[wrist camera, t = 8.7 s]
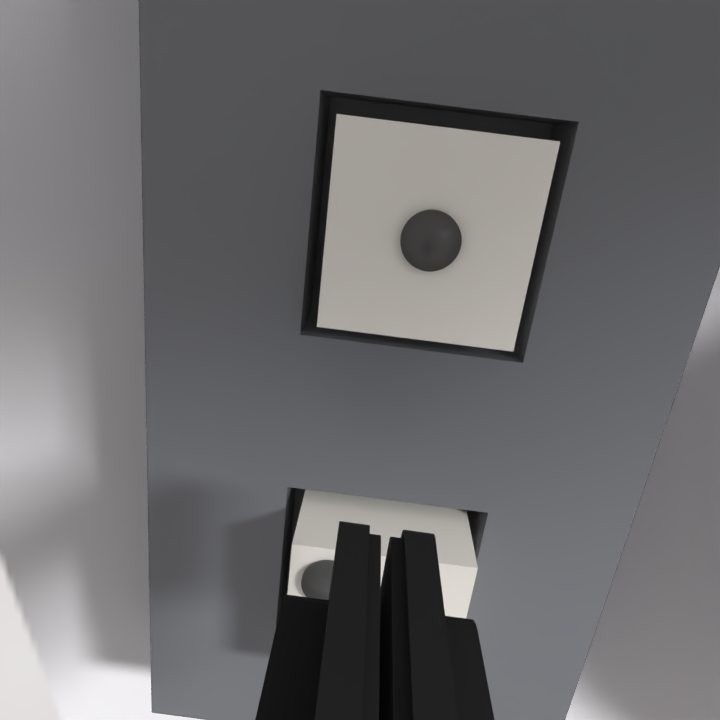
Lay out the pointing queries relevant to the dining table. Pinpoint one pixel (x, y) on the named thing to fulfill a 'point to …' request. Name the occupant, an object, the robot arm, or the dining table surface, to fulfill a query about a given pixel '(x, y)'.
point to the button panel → (403, 355)
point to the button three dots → (387, 520)
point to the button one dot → (432, 231)
